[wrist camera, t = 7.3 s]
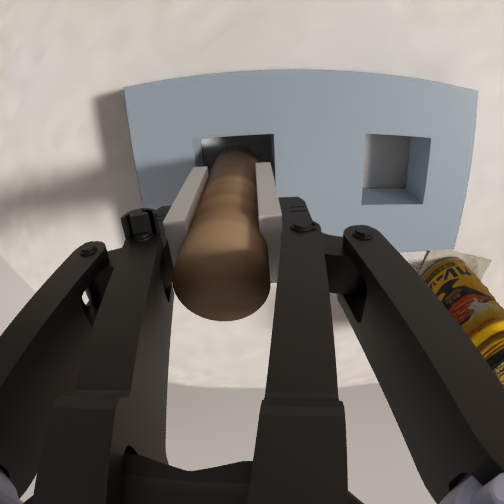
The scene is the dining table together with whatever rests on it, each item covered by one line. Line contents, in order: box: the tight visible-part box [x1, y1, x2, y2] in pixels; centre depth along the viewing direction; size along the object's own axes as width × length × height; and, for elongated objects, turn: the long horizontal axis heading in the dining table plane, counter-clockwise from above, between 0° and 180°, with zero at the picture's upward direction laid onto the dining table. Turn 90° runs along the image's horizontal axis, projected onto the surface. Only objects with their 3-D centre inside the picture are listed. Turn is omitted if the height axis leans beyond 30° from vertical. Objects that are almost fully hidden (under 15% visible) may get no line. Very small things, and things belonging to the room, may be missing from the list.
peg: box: [172, 147, 270, 321], centre depth 15 cm, size 3×3×12 cm
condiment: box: [418, 250, 504, 386], centre depth 22 cm, size 7×8×12 cm
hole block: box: [124, 70, 478, 252], centre depth 20 cm, size 12×22×3 cm, turn 93°
